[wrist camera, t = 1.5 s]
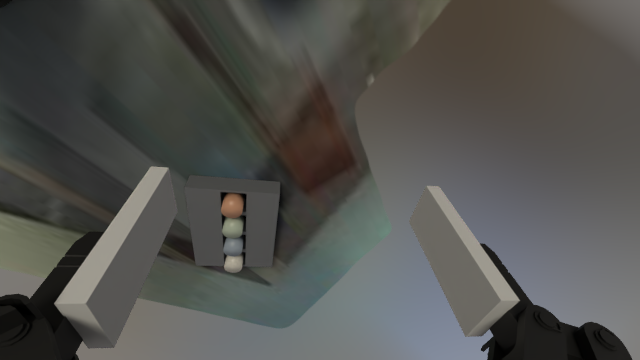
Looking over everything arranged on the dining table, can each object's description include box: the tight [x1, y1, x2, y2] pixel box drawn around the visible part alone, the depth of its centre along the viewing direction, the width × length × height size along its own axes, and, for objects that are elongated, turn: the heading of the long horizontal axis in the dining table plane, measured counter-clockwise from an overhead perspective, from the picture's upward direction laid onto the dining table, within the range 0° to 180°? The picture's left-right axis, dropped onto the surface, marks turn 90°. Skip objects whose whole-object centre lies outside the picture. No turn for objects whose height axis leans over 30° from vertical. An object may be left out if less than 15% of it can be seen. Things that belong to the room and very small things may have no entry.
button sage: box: [222, 215, 244, 239], centre depth 58 cm, size 4×4×4 cm
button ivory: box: [224, 252, 244, 273], centre depth 65 cm, size 4×4×4 cm
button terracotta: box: [221, 192, 245, 218], centre depth 55 cm, size 4×4×4 cm
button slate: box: [223, 235, 244, 257], centre depth 62 cm, size 4×4×4 cm
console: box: [184, 175, 280, 267], centre depth 62 cm, size 18×24×4 cm
